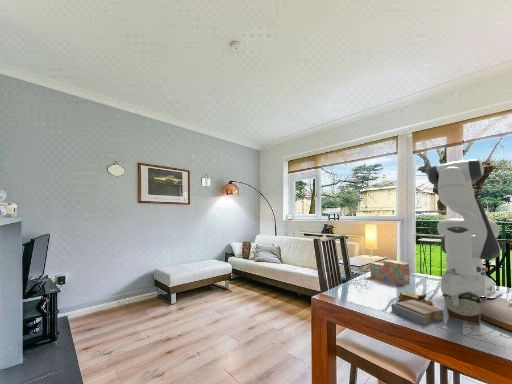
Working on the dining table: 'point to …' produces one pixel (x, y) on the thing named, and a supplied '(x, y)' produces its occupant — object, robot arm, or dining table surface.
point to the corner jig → (409, 314)
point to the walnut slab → (423, 310)
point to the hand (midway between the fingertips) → (462, 303)
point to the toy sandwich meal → (414, 297)
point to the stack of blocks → (391, 271)
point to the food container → (464, 307)
